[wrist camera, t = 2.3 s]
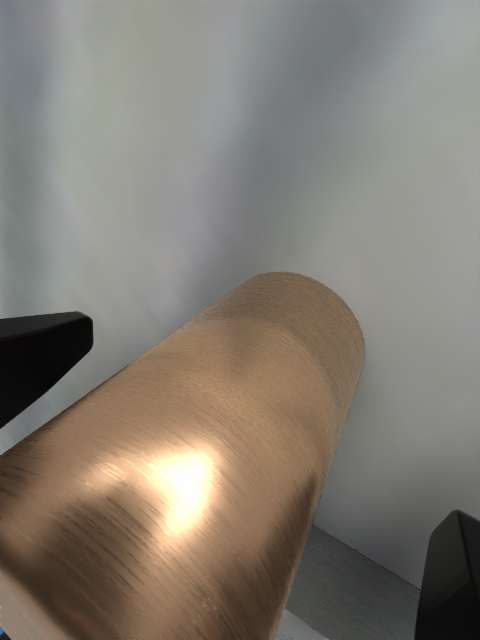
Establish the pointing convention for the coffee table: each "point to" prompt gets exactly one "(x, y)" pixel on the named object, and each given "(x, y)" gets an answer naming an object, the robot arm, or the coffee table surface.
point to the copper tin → (183, 477)
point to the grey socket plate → (346, 597)
